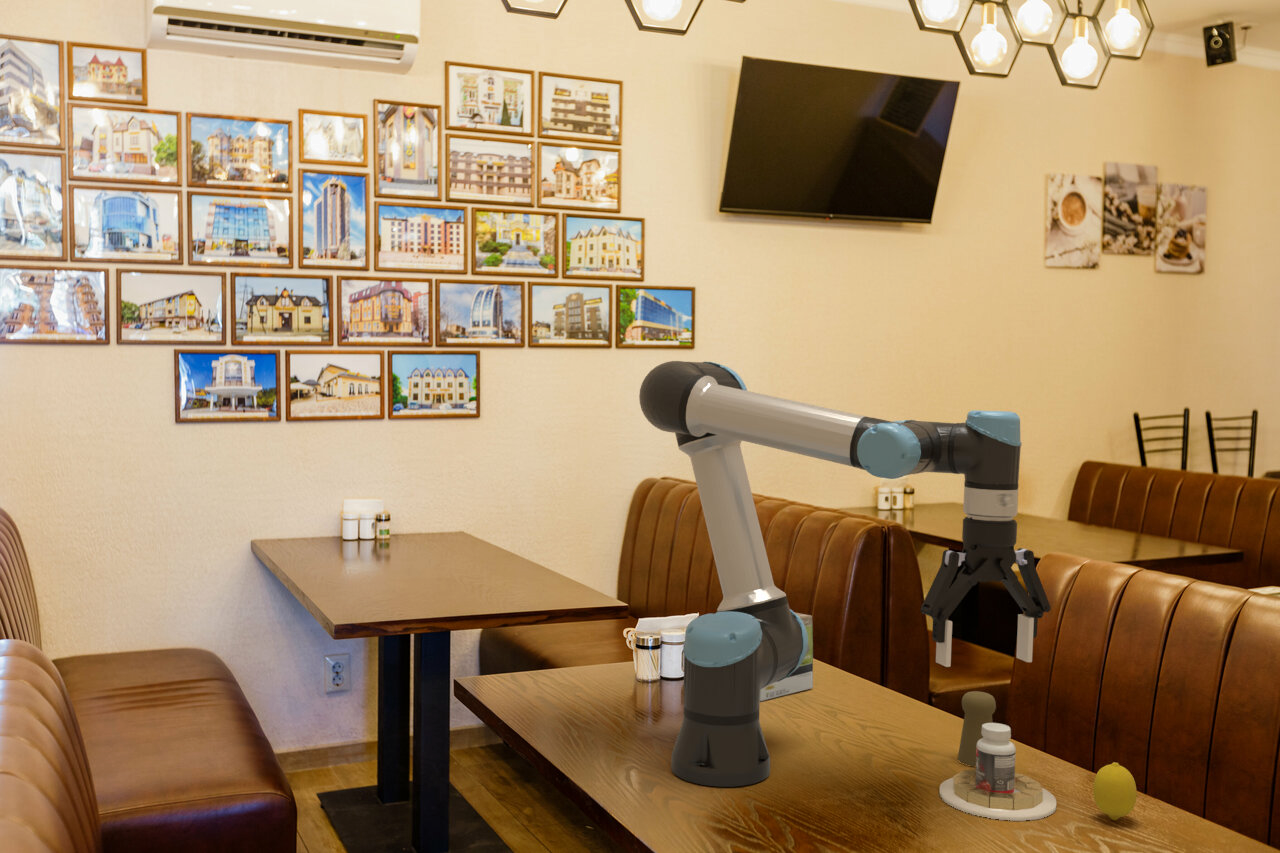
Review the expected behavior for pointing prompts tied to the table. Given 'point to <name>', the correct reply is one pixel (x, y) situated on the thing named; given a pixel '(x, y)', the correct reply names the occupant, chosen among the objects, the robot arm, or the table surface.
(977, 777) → the pill bottle
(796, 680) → the tea box
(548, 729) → the table surface
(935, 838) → the table surface
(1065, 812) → the table surface
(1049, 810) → the coaster
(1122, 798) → the lemon
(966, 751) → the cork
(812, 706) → the table surface
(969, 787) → the collar
